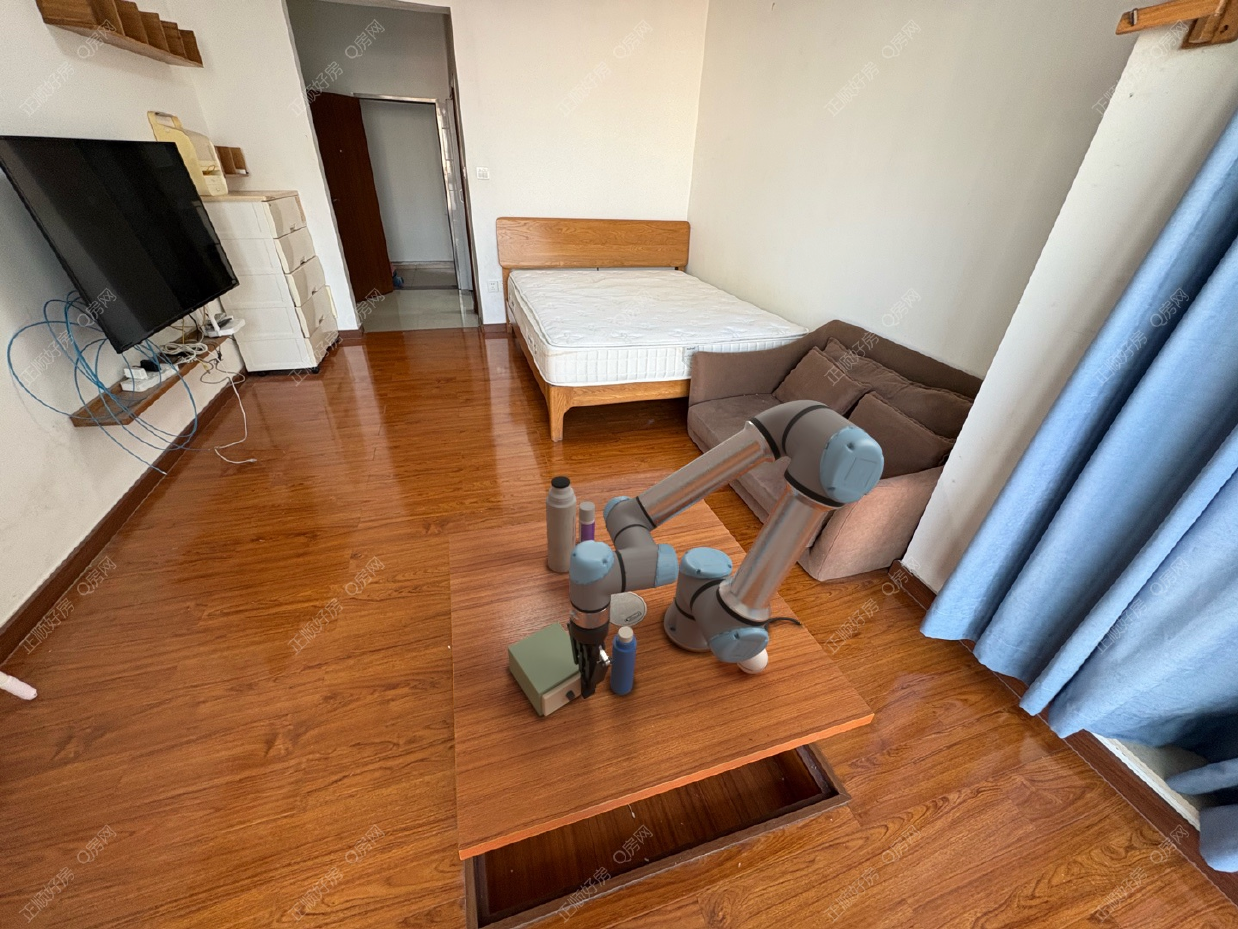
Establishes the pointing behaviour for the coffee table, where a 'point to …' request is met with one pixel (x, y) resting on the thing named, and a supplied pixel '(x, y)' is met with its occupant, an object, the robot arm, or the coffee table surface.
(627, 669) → the bottle
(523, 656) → the cabinet
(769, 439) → the robot arm
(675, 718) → the coffee table surface
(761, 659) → the white oval solid
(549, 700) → the drawer
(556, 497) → the thermos bottle
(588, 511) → the container
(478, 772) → the coffee table surface
